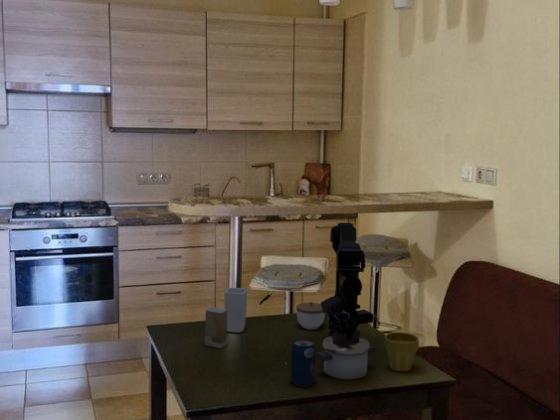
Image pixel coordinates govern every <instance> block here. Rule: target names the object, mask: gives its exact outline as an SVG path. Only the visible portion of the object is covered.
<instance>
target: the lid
mask: <svg viewBox="0 0 560 420" xmlns="http://www.w3.org/2000/svg"><path fill="white" fill-rule="evenodd" d="M360 331H361V330H359V329H358V328H357V329H356V331H355V333H354V334H353V336H352V338H351V339H350V340H348V339H347V330H341V331H335V332H333V336H330V337H329V336H327V337H325V338H324V339H323V340H322V348H324V350H325V349H326V350H327V351H330V352H332V353H336V354H343V355H357V354H362V353H365V352H367V351H368V350H369V345H370V342H369V341H368V340H367V339H366V338H362V337H360V335H361V332H360Z"/></svg>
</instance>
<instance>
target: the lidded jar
mask: <svg viewBox="0 0 560 420" xmlns="http://www.w3.org/2000/svg"><path fill="white" fill-rule="evenodd" d="M325 315H326V313H323V310H322V306H321V303H316V302H313V301H309V302H301V303H299V304H297V305H296V319H297V322H298V323H299V325H300V326H301V328H303V329H306V330H309V331H310V330H318V329H319V327H321V326H322V324H323V323H324V320H325V317H326V316H325Z"/></svg>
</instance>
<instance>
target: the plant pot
mask: <svg viewBox="0 0 560 420" xmlns="http://www.w3.org/2000/svg"><path fill="white" fill-rule="evenodd" d="M383 343H384V344H383V345H384V348H385V349H386V354H387V358H388V359H387V360H388V365H389V369H391V370H393V371H397V372H408V371H410V370H411V369H412V367H413V363H414V360H415V357H416V353H417V351H418V350H419V346H420V345H419V344H420V338H419V337H418V336H417V335H415V334H413V333H409V332H406V331H405V332H403V331H393V332H388V333H386V334H385V335H384V342H383Z"/></svg>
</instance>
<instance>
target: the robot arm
mask: <svg viewBox="0 0 560 420" xmlns="http://www.w3.org/2000/svg"><path fill="white" fill-rule="evenodd" d="M329 236H330V237H329V242H330V243H331V248H332V249H333V252H334V253H335V254H336V255H335V256H336V258H335V291H334V295H333V296H331V297H330V296H329V298H326V299H325V300H322V301H321V302H320V304H321V306H322V310H323V313H325V315H327V329H328V330H329V332H328V337H330V336H333V332H335V331H341V330H347V339H348V340H350V339H351V338H352V336H353V334H354V333H355V331H356V329H358V327H359V325H364V324H370V323H374V314H373V313H372V312H371V311H368V310H366V309H361V305H360V304H358V301H359V300H358V298H359V297H358V296H361V295H362V290H363V284H362V281H361V279H360V276H359V274H360V273H364V272H365V269H366V255H365V253H364V250H363V249H362V248H361V244H359V243H357V228H356V227H355V226H354V223H351V222H337V224H336V225H335V226H333V227H331V229H330V233H329Z"/></svg>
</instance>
